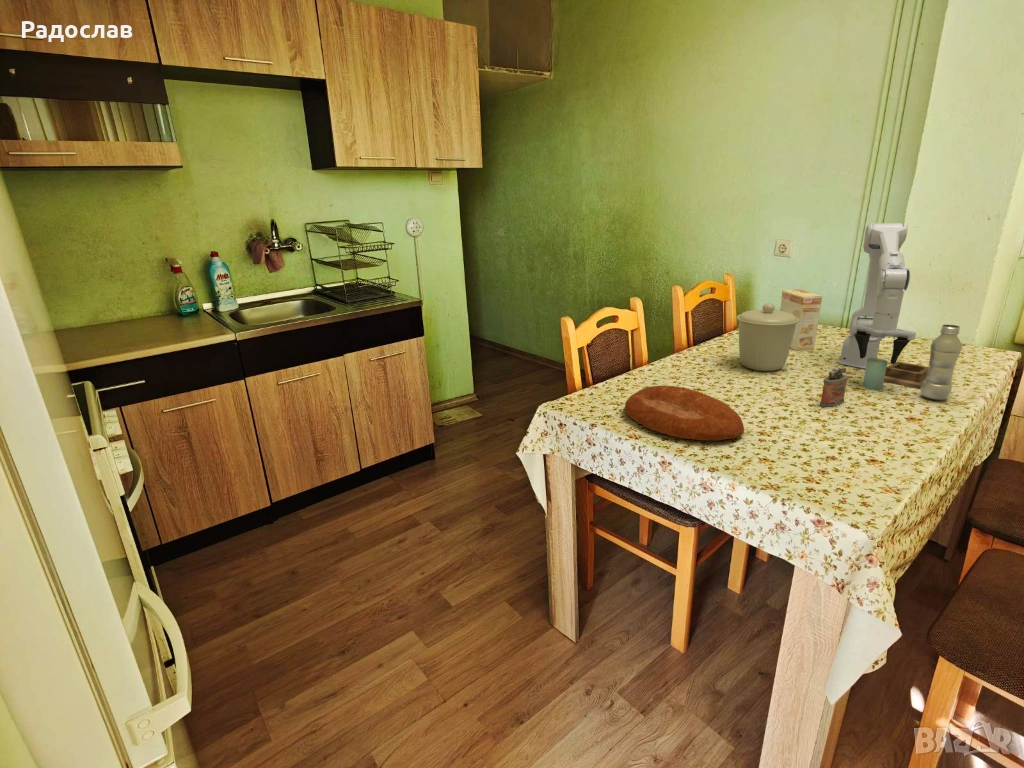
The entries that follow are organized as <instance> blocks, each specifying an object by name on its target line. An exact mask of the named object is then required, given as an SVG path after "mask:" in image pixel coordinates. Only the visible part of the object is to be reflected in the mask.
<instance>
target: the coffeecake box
mask: <svg viewBox="0 0 1024 768" xmlns="http://www.w3.org/2000/svg"><path fill="white" fill-rule="evenodd" d="M822 298H823V295H820V294H818V293H817V294H816V293H813V292H810V291H807V290H803V289H799V288H797V289H795V288H794V289H782V293H781V300H780V301H781V302H780V309H779V311H784V312H788V313H791V314H793V315H794V316H795V317H797V318H799V322H798V323H796V327H795V331H794V335H793V339H792V343H791V346H790V349H792V350H794V351H814V350H815V344H816V338H817V332H818V325H819V321H820V320H819V318H820V315H821V314H820V313H821V306H822V301H823V299H822Z"/></svg>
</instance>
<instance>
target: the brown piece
mask: <svg viewBox="0 0 1024 768" xmlns="http://www.w3.org/2000/svg"><path fill="white" fill-rule="evenodd" d="M928 367H929V366H925V365H921V364H920V365H919V364H914V363H910V362H903V361H896V363H894V364H890V365H887V368H886V373H885V377H884V382H883V383H889V384H894V385H899V386H903V385H904V387H908V386H909V387H908V388H913V389H917V388H918V390H921V385H922V383H923V381H924V379H925V376H926V373H927V370H928Z"/></svg>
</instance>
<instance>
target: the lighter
mask: <svg viewBox="0 0 1024 768" xmlns="http://www.w3.org/2000/svg"><path fill="white" fill-rule="evenodd" d="M847 369H848V368H847V366H846V367H845V366H841V367H838V368H835V367H834V368H832V369H831V370H829V371H828V376H826V377H824V378H823V387H822V393H821V398H820V399H821V400H820V401H819V407H821V406H822V407H821V408H824V407H831V408H834V407H833V406H835V407H838V406H837V405H839V406H841V405H843V404H844V403H845V399H844V398H845V394H846V386H847V382H848V380H849V375H847V374H844V373H847ZM842 403H843V404H842ZM840 404H841V405H840Z"/></svg>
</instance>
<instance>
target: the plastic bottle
mask: <svg viewBox="0 0 1024 768" xmlns="http://www.w3.org/2000/svg"><path fill="white" fill-rule="evenodd" d="M960 329H961V327H960V326H959V325H956V324H942V325H941V329H940V331H939V332H940V335H938V336H937V337H935V338H934V339H933V341H932V342H931V344H930V351H929V352H930V353H929V360H928V366H927V367H928V370H927V373H926V376H925V379H924V381H923V383H922V385H921V389H920V394H921V396H922V397H924V398H926V399H930V400H935V401H944V400H947V399H948V398H949V397H950V395H951V393H952V382H953V375H954V371H955V367H956V364H957V361H958V358H959V356H960V354H961V351H962V350H963V345H962V342H961V340H960V338H959V336H958V335H960Z"/></svg>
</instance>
